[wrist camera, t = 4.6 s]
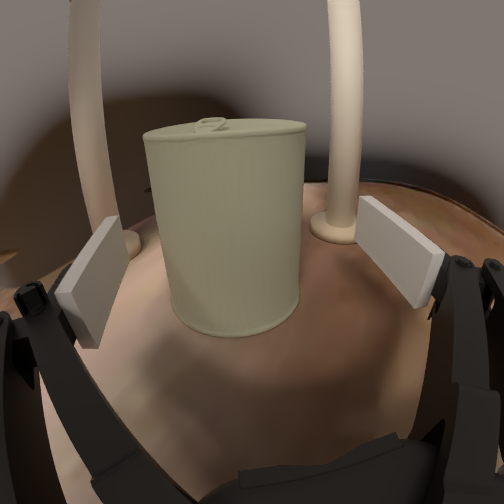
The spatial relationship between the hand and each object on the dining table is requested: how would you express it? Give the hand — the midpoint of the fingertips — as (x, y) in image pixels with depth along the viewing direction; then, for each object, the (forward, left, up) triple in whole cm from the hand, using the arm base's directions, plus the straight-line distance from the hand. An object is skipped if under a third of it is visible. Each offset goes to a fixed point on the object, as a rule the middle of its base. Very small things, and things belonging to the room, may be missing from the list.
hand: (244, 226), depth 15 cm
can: (-2, +2, -7) cm, 7 cm away
